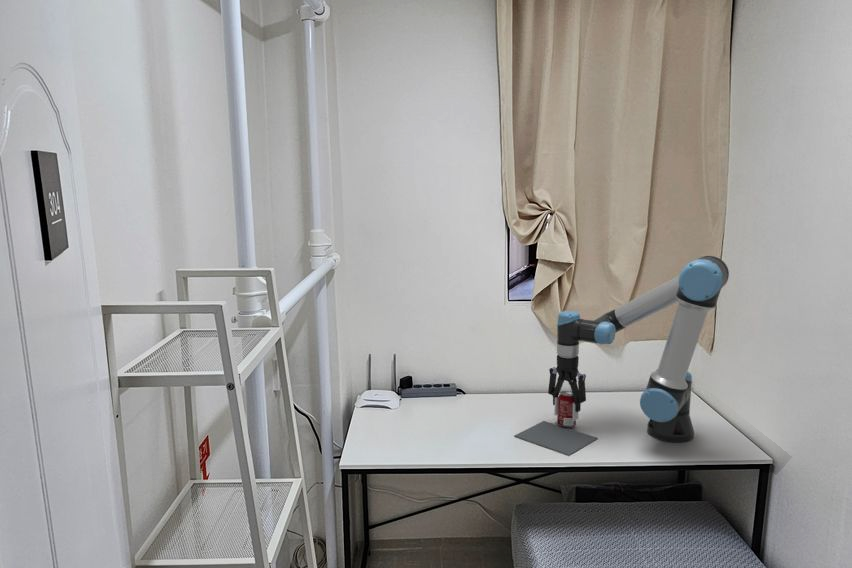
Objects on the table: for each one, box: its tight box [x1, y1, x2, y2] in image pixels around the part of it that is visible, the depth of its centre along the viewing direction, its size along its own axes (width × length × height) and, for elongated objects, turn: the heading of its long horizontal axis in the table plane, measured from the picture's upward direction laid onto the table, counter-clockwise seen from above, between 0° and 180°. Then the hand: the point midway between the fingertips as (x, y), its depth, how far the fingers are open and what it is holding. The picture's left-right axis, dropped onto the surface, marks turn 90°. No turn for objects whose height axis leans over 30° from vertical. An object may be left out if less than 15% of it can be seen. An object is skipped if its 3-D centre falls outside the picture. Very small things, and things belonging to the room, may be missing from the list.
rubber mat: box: [513, 420, 599, 457], centre depth 216 cm, size 22×18×1 cm
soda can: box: [556, 390, 577, 429], centre depth 225 cm, size 7×7×12 cm
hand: (566, 416), depth 225 cm, fingers closed on soda can, 7 cm apart
